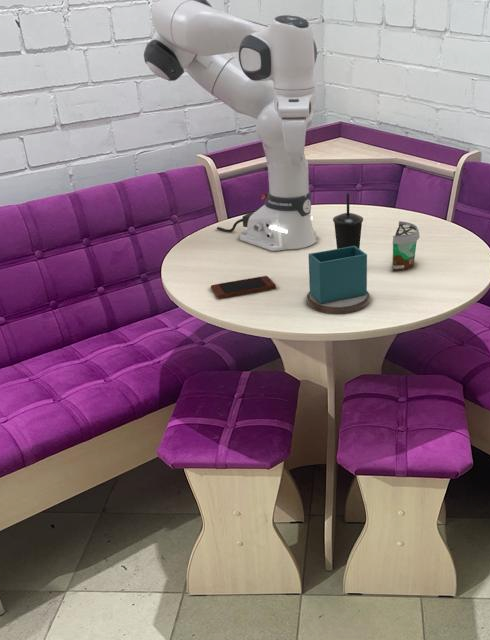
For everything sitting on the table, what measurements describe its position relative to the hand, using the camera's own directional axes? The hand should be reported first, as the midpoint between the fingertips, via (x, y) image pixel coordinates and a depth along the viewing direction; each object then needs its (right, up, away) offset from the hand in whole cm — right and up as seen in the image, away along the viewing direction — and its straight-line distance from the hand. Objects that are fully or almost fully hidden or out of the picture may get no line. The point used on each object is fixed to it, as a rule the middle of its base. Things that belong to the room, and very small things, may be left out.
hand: (297, 166), depth 166 cm
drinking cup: (+12, -18, +30) cm, 37 cm away
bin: (+9, -27, +12) cm, 31 cm away
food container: (+27, -17, +32) cm, 45 cm away
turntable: (+9, -28, +13) cm, 32 cm away
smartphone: (-15, -25, +20) cm, 35 cm away
